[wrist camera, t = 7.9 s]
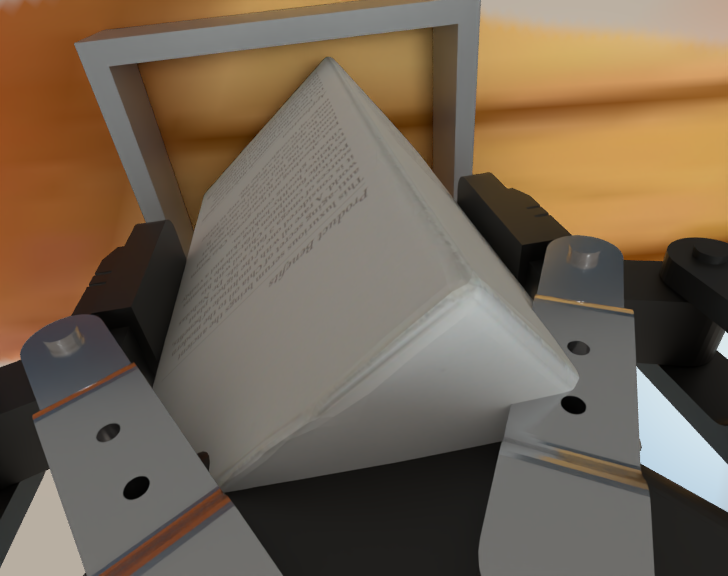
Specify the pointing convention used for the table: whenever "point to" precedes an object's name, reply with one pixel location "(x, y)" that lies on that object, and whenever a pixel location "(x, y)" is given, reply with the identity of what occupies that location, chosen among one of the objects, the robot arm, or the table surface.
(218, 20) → the frame
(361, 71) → the table surface
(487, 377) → the skincare box
